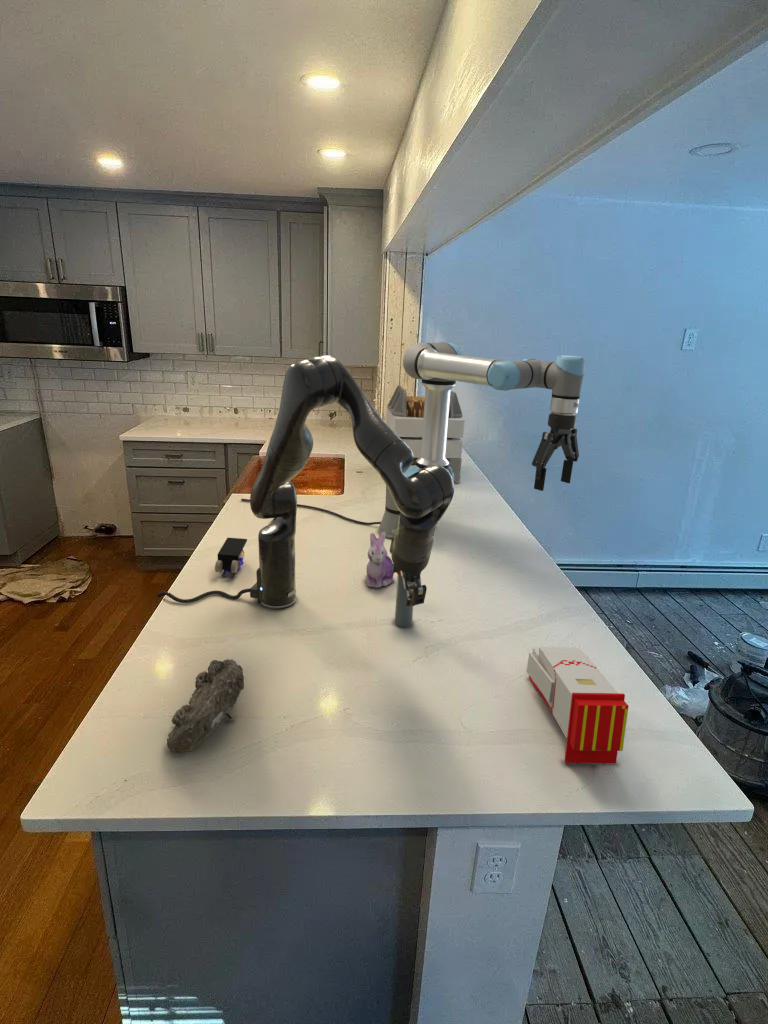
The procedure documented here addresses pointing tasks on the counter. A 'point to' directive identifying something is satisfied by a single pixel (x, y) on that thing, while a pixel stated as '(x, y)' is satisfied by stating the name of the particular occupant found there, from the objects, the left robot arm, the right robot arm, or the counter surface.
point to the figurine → (378, 563)
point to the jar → (402, 605)
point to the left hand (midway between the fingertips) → (403, 587)
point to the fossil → (206, 705)
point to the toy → (580, 703)
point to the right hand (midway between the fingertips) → (552, 485)
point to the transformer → (408, 426)
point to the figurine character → (230, 556)
